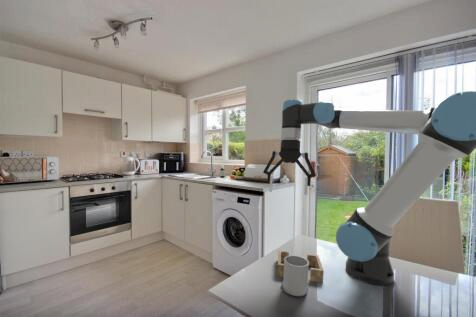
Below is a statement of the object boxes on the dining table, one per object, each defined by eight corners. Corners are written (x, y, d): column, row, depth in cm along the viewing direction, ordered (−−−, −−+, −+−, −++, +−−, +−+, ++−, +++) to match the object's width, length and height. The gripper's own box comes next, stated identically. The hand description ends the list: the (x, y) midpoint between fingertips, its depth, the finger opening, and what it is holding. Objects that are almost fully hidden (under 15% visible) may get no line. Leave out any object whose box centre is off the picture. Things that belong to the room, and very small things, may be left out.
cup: (285, 296, 66) (287, 266, 66) (279, 277, 76) (280, 251, 76) (310, 297, 66) (312, 267, 66) (300, 278, 76) (302, 252, 76)
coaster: (306, 283, 75) (306, 281, 75) (308, 298, 67) (309, 296, 67) (281, 279, 76) (281, 277, 76) (281, 293, 68) (281, 291, 68)
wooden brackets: (317, 265, 87) (318, 255, 87) (322, 282, 76) (323, 270, 76) (278, 260, 90) (278, 250, 90) (277, 275, 79) (277, 264, 78)
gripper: (322, 141, 92) (319, 193, 92) (260, 139, 97) (257, 189, 97) (325, 140, 85) (322, 197, 85) (258, 137, 90) (255, 191, 90)
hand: (287, 192), depth 91 cm, fingers open, 13 cm apart
